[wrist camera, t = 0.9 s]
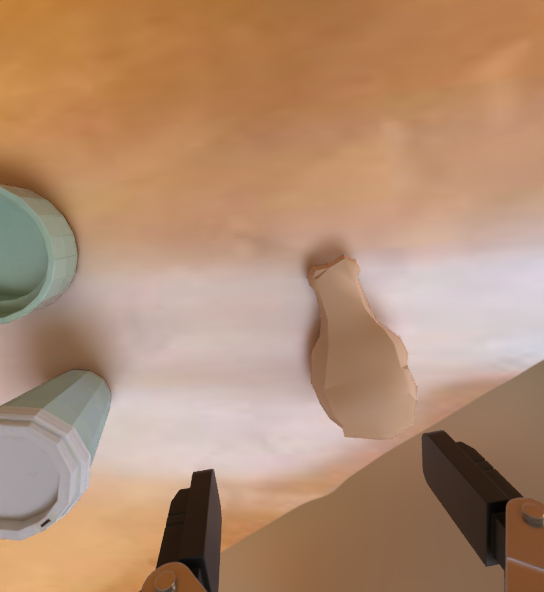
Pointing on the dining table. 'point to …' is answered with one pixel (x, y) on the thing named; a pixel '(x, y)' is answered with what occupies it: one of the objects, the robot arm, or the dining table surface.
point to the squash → (358, 359)
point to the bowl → (32, 253)
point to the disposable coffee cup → (49, 450)
